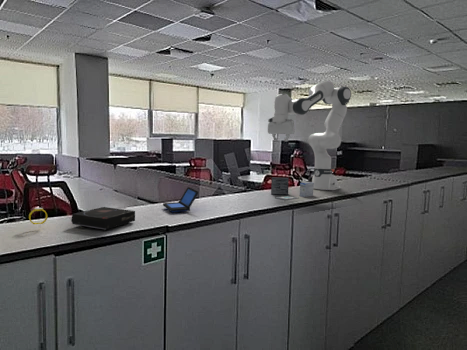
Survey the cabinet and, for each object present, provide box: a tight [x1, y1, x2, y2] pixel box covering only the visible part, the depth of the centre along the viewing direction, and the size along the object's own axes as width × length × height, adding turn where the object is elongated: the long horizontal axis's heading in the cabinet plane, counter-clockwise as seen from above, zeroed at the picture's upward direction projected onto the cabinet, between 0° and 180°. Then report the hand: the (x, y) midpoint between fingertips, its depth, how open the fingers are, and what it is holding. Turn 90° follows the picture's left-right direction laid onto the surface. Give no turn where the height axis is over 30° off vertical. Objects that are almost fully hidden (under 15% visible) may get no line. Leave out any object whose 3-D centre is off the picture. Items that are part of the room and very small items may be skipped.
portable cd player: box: [70, 206, 136, 230], centre depth 141 cm, size 16×17×4 cm
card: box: [274, 195, 299, 201], centre depth 209 cm, size 12×8×1 cm, turn 129°
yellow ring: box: [28, 207, 48, 225], centre depth 134 cm, size 6×3×6 cm, turn 127°
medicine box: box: [299, 181, 314, 198], centre depth 218 cm, size 8×4×9 cm, turn 130°
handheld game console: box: [162, 186, 199, 213], centre depth 172 cm, size 16×13×9 cm
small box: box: [270, 176, 290, 196], centre depth 223 cm, size 11×6×10 cm, turn 84°
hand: (280, 141), depth 230 cm, fingers open, 8 cm apart
